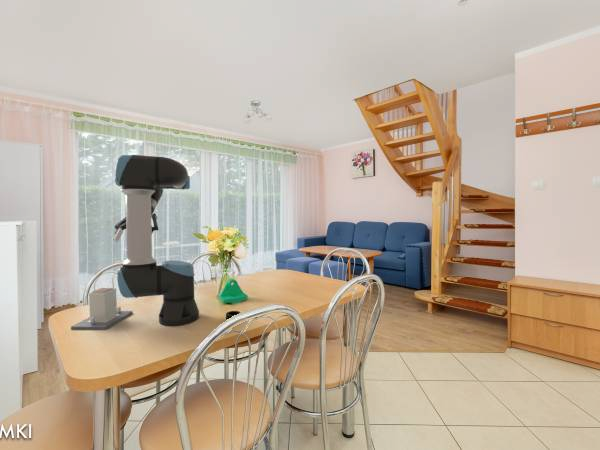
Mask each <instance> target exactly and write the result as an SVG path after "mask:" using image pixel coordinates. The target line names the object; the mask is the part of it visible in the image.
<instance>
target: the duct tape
mask: <svg viewBox="0 0 600 450" xmlns="http://www.w3.org/2000/svg"><path fill="white" fill-rule="evenodd" d="M239 313H241V311H239V310H230V311H227V312H225V321H226V320H227V319H229V318H231V317H232V316H234V315H237V314H239Z"/></svg>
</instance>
